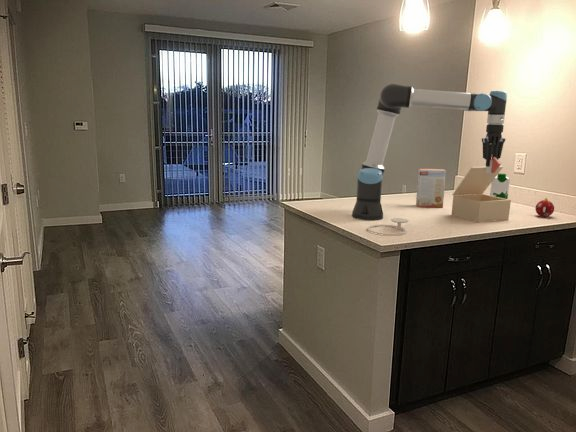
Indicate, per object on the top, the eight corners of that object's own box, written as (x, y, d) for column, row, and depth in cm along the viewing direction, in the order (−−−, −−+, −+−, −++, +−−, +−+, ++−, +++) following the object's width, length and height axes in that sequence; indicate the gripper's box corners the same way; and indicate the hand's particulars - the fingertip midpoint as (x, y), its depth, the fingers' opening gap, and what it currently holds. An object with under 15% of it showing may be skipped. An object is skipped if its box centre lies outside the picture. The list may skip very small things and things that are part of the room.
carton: (478, 222, 228) (480, 202, 226) (451, 214, 244) (453, 195, 242) (508, 219, 236) (510, 199, 234) (480, 212, 252) (482, 193, 250)
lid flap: (484, 164, 222) (478, 157, 225) (457, 201, 239) (452, 194, 242) (515, 163, 230) (509, 156, 233) (487, 199, 247) (481, 192, 250)
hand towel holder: (358, 220, 209) (392, 215, 220) (358, 229, 209) (391, 224, 221) (386, 228, 195) (420, 222, 206) (386, 238, 196) (420, 232, 207)
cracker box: (440, 206, 267) (444, 169, 263) (443, 208, 262) (446, 170, 257) (415, 204, 269) (418, 168, 264) (417, 207, 263) (420, 169, 258)
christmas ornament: (553, 216, 247) (556, 197, 245) (552, 219, 240) (555, 199, 238) (535, 214, 252) (537, 195, 249) (533, 216, 244) (536, 197, 242)
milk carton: (489, 210, 257) (493, 174, 253) (487, 207, 266) (491, 172, 262) (507, 212, 255) (511, 175, 251) (504, 208, 264) (508, 173, 259)
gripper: (489, 124, 221) (484, 174, 226) (512, 124, 227) (507, 173, 231) (477, 123, 228) (472, 172, 232) (500, 124, 233) (495, 172, 238)
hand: (489, 173), depth 232 cm, fingers closed on lid flap, 2 cm apart
